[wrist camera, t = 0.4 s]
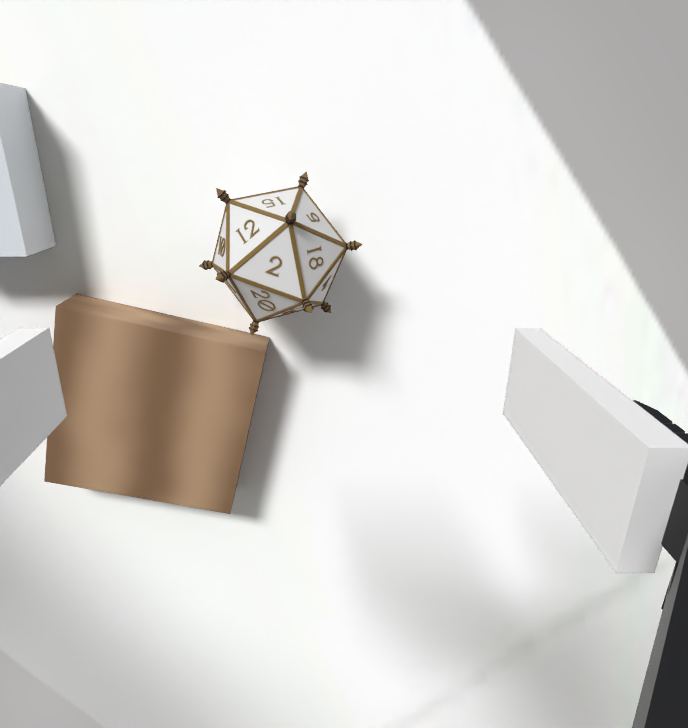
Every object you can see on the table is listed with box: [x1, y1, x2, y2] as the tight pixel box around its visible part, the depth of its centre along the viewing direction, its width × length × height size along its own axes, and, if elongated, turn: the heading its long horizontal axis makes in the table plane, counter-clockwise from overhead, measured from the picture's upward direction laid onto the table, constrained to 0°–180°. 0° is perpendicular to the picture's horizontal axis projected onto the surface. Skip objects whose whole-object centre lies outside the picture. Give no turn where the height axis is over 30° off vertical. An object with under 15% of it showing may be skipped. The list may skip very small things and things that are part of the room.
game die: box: [199, 172, 362, 335], centre depth 31 cm, size 9×8×10 cm
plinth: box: [45, 294, 269, 514], centre depth 37 cm, size 13×13×3 cm
